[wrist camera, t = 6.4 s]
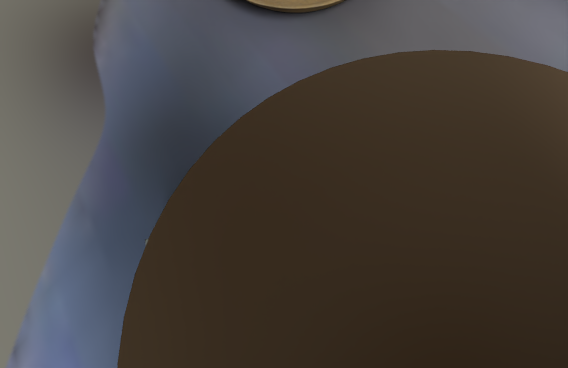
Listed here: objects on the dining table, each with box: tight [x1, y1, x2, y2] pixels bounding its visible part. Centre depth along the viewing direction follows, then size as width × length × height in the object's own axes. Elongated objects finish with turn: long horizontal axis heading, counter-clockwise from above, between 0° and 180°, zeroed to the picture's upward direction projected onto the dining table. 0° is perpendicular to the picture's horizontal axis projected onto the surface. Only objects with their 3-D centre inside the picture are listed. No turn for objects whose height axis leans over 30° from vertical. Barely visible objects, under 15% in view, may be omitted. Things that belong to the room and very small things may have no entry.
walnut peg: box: [118, 50, 568, 368], centre depth 8 cm, size 4×4×13 cm
